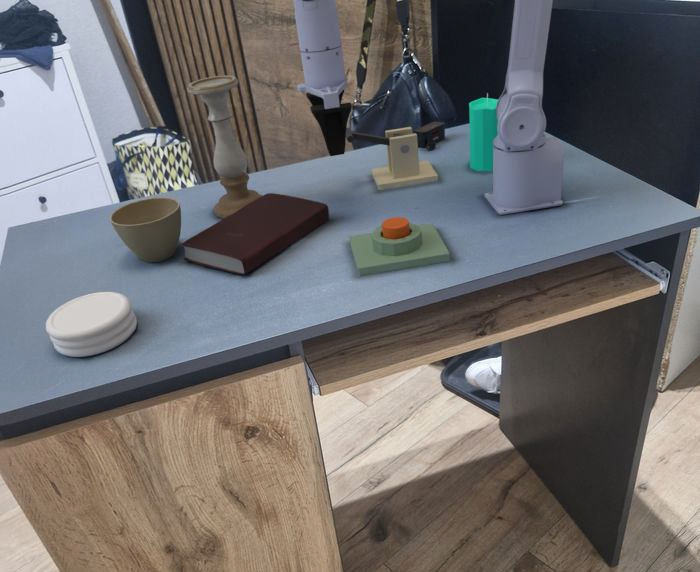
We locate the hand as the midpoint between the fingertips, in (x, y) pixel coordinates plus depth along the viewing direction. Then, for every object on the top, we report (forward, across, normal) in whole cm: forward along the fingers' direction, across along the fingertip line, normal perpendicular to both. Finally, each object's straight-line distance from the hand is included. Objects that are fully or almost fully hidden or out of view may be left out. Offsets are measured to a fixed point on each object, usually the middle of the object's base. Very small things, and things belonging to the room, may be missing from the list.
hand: (334, 146), depth 95 cm
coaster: (+10, +26, -34) cm, 44 cm away
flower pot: (+10, +5, -29) cm, 31 cm away
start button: (+8, +17, +6) cm, 20 cm away
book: (+10, +6, -13) cm, 18 cm away
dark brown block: (+10, -24, +20) cm, 33 cm away
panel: (+10, +17, +6) cm, 21 cm away
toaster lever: (+4, -10, +8) cm, 13 cm away
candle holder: (+10, -8, -16) cm, 21 cm away
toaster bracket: (+10, -10, +12) cm, 18 cm away
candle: (+10, -9, +26) cm, 30 cm away
